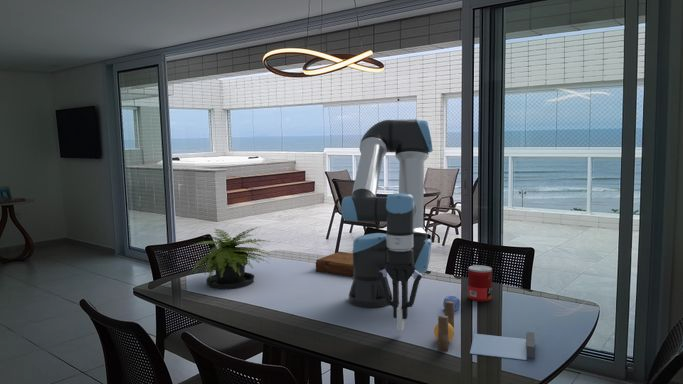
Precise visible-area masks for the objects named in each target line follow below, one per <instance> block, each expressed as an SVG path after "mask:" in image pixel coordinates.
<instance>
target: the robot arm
mask: <svg viewBox="0 0 683 384" xmlns="http://www.w3.org/2000/svg"><path fill="white" fill-rule="evenodd" d="M433 151H434V150H433V143H432V133H431V126H430V122H429V121H428V120H427V119H424V118H423V119H421V118H420V119H419V118H415V119H414V118H412V119H411V118H410V119H409V118H408V119H384V120H381V121H379V122H377V123H375V124H373V125H372V126H371V127H370V128H368V130H367V131H366V132H365V133H364V135H363V136H362V138H361V140H360V144H359V152H360V157H359V161H358V165H357V171H356V173H355V174H356V175H355V179H354V184H353V188H352V192H351V195H349V196H344V197H343V199H342V200H341V216H342V219H343V220H344V221H346V222H355V223H357V222H361V223H362V222H368V223H369V222H372V223H373V222H377V223H378V222H380V223H384V222H385V223H386V233H381V232H375V233H368V234H362V235H360V236H357V237H356V238H354V240H353V242H352V252H351V253H353V277H352V279H353V280H352V283H351V286H350V289H349V293H348V302H349V304H351V305H352V306H353V305H354V306H357V307H360V308H380V307H385V306H391V307H392V311H393V313H392V314H393V315H392V317H393V318H394V319H396V332H403V331H404V329H405V320H407V319H408V308H412V307H413V306H414V305H415V304H414V303H415V301H416V296H417V292H418V288H419V285H420V281H421V280H422V279H423V277H424V274H425V273H426V272H427V271H428V269H429V267H430V266H429V264H430V258H431V252H432V245H433V243H432V242H433V241H432V239H431V238H428V232H426V230H424V195H425V193H424V190H425V189H424V187H425V186H424V185H425V184H424V181H425V174H424V173H425V164H424V163H425V161H426V160H427V159H428V158H429V154H430V153H432V152H433ZM387 153H394V156H395V158H396V159H397V160H398V162H399V170H398V192H396V193H389V194H387V196H377V192H378V188H379V181H380V176H381V175H380V174H381V171H382V164H383V163H382V162H383V158H384V157H385V156H386V154H387ZM388 275H389V278H390V279H391V280H392V281H391V282H392V290H391V287H390V284H389V281H388ZM412 275H413V279H414V281H413V285H412V287H411V291H410V292H411V293H410V296H409V292H408V291H409V288H408V287H409V286H408V284H409V279H410V278H411V277H412ZM400 286H401V305H400ZM408 296H409V297H408Z"/></svg>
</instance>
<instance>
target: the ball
mask: <svg viewBox="0 0 683 384" xmlns="http://www.w3.org/2000/svg"><path fill="white" fill-rule="evenodd" d="M433 334H434V336H435V338H436V339H437V340H438V323H437V324H436V325H435V326H434V328H433ZM454 336H455V328H454V329H453V327H452V325H451V324H450V323H448V342H450V341H451V340H453V338H454Z"/></svg>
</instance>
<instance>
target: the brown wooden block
mask: <svg viewBox="0 0 683 384" xmlns="http://www.w3.org/2000/svg"><path fill="white" fill-rule="evenodd" d="M315 271H316V272H317V273H323V274H329V275H338V276H343V277H344V276H345V277H350V278H354V277H353V252H347V251H346V252H344V251H337V252H334V253H331V254H328V255H327V256H324V257H321V258H318V259H316V261H315Z"/></svg>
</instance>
